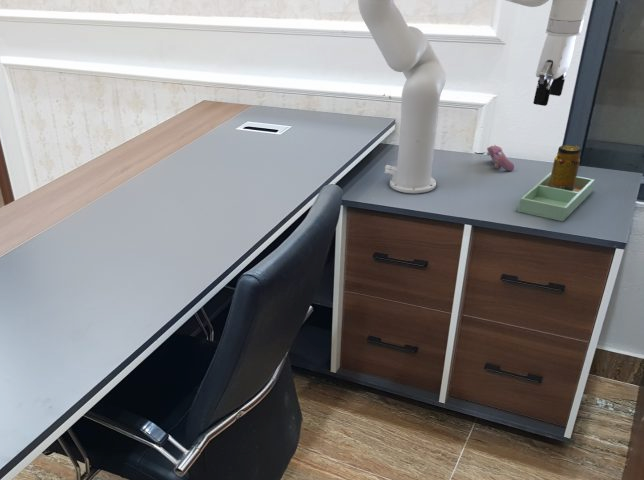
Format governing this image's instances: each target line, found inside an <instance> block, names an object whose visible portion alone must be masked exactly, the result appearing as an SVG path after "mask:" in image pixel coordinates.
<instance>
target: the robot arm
mask: <svg viewBox="0 0 644 480" xmlns="http://www.w3.org/2000/svg"><path fill="white" fill-rule="evenodd" d="M505 1H507V2H510V3H513V4H517V5H520V6H524V7H527V8H528V7H530V8H537V7H540V6H543V5H544V4H546V3H547V2H549V1H550V0H505ZM588 4H589V0H552V2H551V5H550V10H549V11H550V12H549V16H548V20H547V24H546V29H545V33H546V34H547V35H546V37H545V41H544V42H543V47H542V49H541V53H540V57H539V59H538V64H537V67H536V72H535V76H536V78H538V80H537V84H536V89H535V93H534V97H533V102H532V103H533V105H536V106H543V107H546V106H547V105H548V103H549V100H550V96H556V97H560V96H561V95H562V93H563V89H564V85H565V81H566V77H567V72H568V70H569V68H570V65H571V61H572V59H573V53H574V49H575V43H576V38H577V36H579V35H581V33H582V30H583V24H584V20H585V17H586V12H587V9H588ZM357 5H358V10H359V13H360V16H361V18H362V20H363V22H364V24H365V26H366V27H367V29H368V31H369V33H370V34H371V36H372V38H373V40H374V42H375V44H376V46H377V48H378V50H379V51H380V52H381V55H382V56H383V59H384V60H385V62H386V64H387V66H388V67H389V68H390V69H391V70H392V71H394V72H397V73H403V76H404V77H405V82H404V85H403V88H402V91H401V101H400V102H401V103H400V104H401V106H400V107H401V109H400V125H399V126H400V127H399V137H398V138H399V139H398V149H397V162H396V166H393V165H390V164H386V165H385V166H384V171H383V172H384V173H383V174H384V175H387V176H392V177H391V178H390V180H389V187H390V188H392V189H393V190H394V191H396V192H401V193H404V194H423V193H428V192H431V191H433V190H434V189H435V188H436V187H437V181H436V179H434V177H432V172H433V166H434V165H433V163H434V156H435V146H436V139H437V127H438V119H439V109H440V108H439V107H440V100H441V94H442V92H443V90H444V87H445V85H446V80H447V79H446V78H447V77H446V76H447V75H446V72H445V69H444V67H443V65H442V63H441V62H440V59H439V57H438V56H437V54H436V52H435V50H434V48H433V47H432V45H431V42H430V41H429V39H428V38H427V36H426V35H425V34H424V32H422V30H421V29H419V28H417V27H416V26H411V25H410V26H409V25H408V24H407V22H406V20H405V19H404V16H403V14H402V13H401V11H400V9H399V8H398V7H397V5H396V4H395V2H394V0H357Z"/></svg>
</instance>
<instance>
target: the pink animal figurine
mask: <svg viewBox="0 0 644 480" xmlns="http://www.w3.org/2000/svg"><path fill="white" fill-rule="evenodd" d="M486 150H487V152H486V155H487V156H488V157H490V158H491V160H492V162H493V164H494V166H495V167H497V169H500V168H502V169H503V170H506V171H509V172H511V171H514V169H515V164H514V163H513V162H512V161H511V160H509V158H508V157H507V156H506V154H505V153H504V150H503V148H502V147H501V146H498V145H496V144H494V145H491V146H488V147H487V149H486Z"/></svg>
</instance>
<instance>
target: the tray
mask: <svg viewBox="0 0 644 480" xmlns="http://www.w3.org/2000/svg"><path fill="white" fill-rule="evenodd" d="M551 173H552V171H550V172H549V173H548V174H547V175H545V176H544V177H543V178H542V179H541V180H540V181H538V182H537V183H536V184H535V185H534V186H533V187H532V188H530V189H529V191H527V192H526V193H525V194H524V195H523V196H521V197H520V198H519V204H518V207H517V208H518V209H517V212H519V213H522V214H523V213H524V214H527V215H532V216H538V217H540V218H541V217H542V218H546V219H550V220H555V221H559V222H564V221H565V220H566V219H567V218H568V217H569V216H570V215H571V214H573V212H574V211H575V210H577V208H578V207H579V206H580V205H581V204H582V203H583V202H584V201H585V200H586V199H588V197H589V196H590V195H591V194H592V193H593V189H594V186H595V185H594V184H595V181H596V179H594V178H588V177H583V176H579V175H577V176H576V181H575V185H574V189H577V190H581V191H580V192H574V191H569V190H564V189H559V188H554V187H549V183H550V178H551Z"/></svg>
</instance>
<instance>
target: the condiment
mask: <svg viewBox="0 0 644 480" xmlns="http://www.w3.org/2000/svg"><path fill="white" fill-rule="evenodd" d="M581 152H582V148H580V146H578V145H573V144H564V145H563V144H562V145H560V146H559V147H558V149H557V153H556V156H555V157H554V160H553V164H552V170H551V172H552V173H551V178H550V183H549V187H554V188H559V189H564V190H569V191H574V192H580V191H581V190H577V189H574V185H575V181H576V176H578V172H579V169H580V168H579V167H580V164H581V158H580V157H581Z"/></svg>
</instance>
